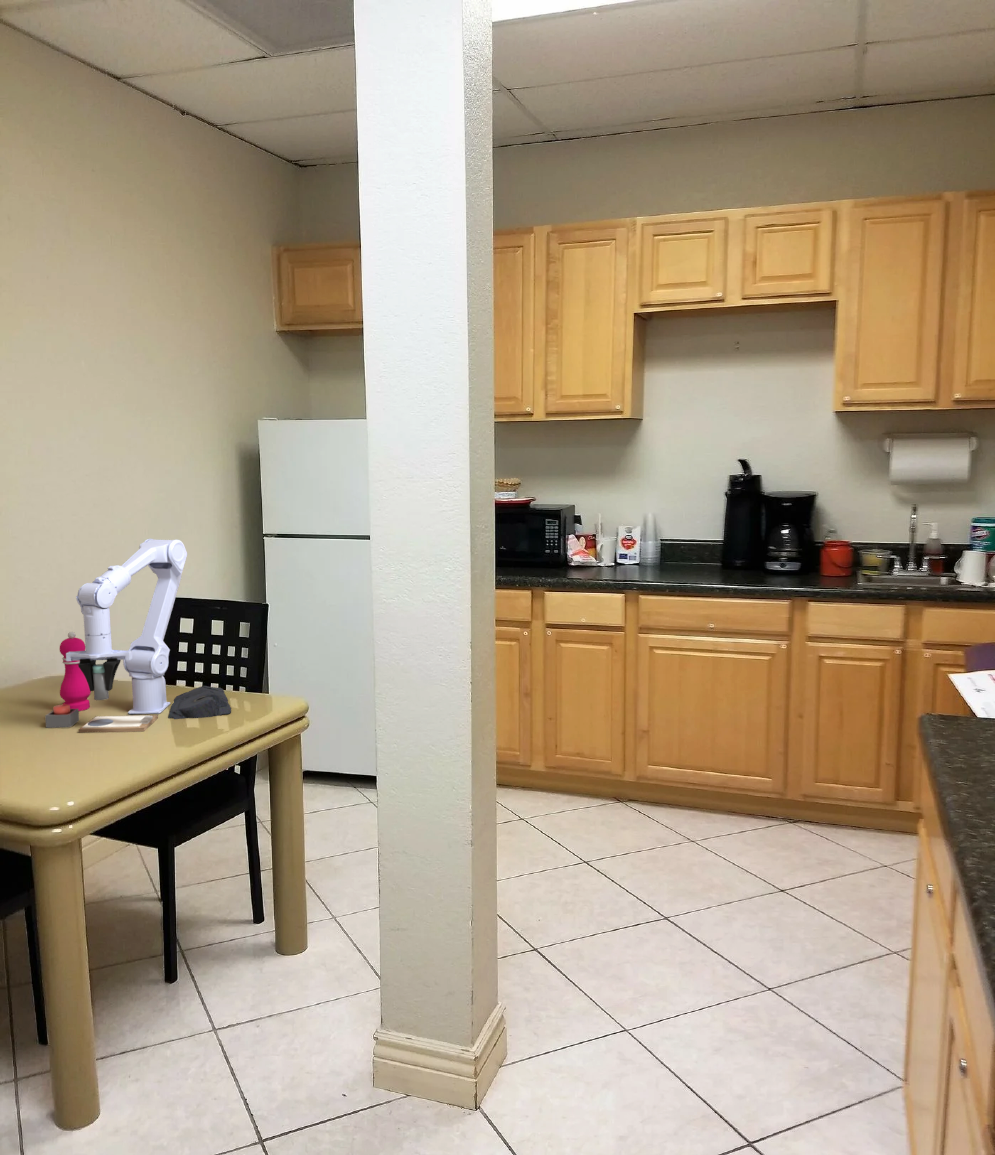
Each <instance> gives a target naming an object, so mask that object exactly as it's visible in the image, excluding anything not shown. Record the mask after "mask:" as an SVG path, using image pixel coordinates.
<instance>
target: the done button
mask: <svg viewBox="0 0 995 1155" xmlns="http://www.w3.org/2000/svg"><path fill="white" fill-rule="evenodd" d="M52 709H53V710H54V715H68V714H69V713H70V705H67V704H63V703H62V704H57V705H54V706H53V708H52Z"/></svg>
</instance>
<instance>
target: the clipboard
mask: <svg viewBox="0 0 995 1155" xmlns="http://www.w3.org/2000/svg"><path fill="white" fill-rule="evenodd" d="M157 719H159V715H158V714H148V715H147V714H131V715H99V716H98V715H97V716H96V715H95V716H94V717H93V718H92V719H90V720H89V721H87V722H86V723H85V724H83V725H82V726H81V727H80V728H78V733H79V734H81V733H82V734H83V733H84V734H85V733H87V734H88V733H89V734H90V733H123V732H124V733H125V732H127V733H128V732H129V733H130V732H131V733H132V732H133V733H134V732H146V730H148V728H149V727H151V725H153V724H154V723H155V722H156V721H157Z"/></svg>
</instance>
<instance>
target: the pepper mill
mask: <svg viewBox="0 0 995 1155" xmlns="http://www.w3.org/2000/svg"><path fill="white" fill-rule="evenodd" d="M67 637H68V638H65V639H63V640H62V641H61V642H60V644H59V653H60V655H62V656H63V657H62V658H61V659H62V664H64V677H63V680H62V681H61V682H62V683H61V685H60V688H59V696H60V698H62V700H63V703H62V705H63V704H67V705H70V709H78V711H79V712H83V711H86V710H88V709H89V708H90V700H89V699H88V698H89V697H90V695H91V692H92V691H90V688H89V685H88V682H87V680H86V678H85V676H84V674H83V672H82V671H81V669H80V668H79V666H78V664H79V663H80V660H79V661H66V653H68V652H76V651H86V648H85V641H84V640H83V639H81V638H80V637H79V638H78V637H76V633H75V632H74V631H69V632H68V634H67Z"/></svg>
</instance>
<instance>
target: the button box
mask: <svg viewBox="0 0 995 1155" xmlns="http://www.w3.org/2000/svg"><path fill="white" fill-rule="evenodd" d="M79 712H80V711H78V709H70V713H69V714H68V715H54V709H53V710H51V711H49V712H48V713H46V715H45V728H47V729H49V728H50V729H52V728H55V729H56V728H71V727H73V726H74V725H76V724H77V723H78V722H79V721H80V714H79Z"/></svg>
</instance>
